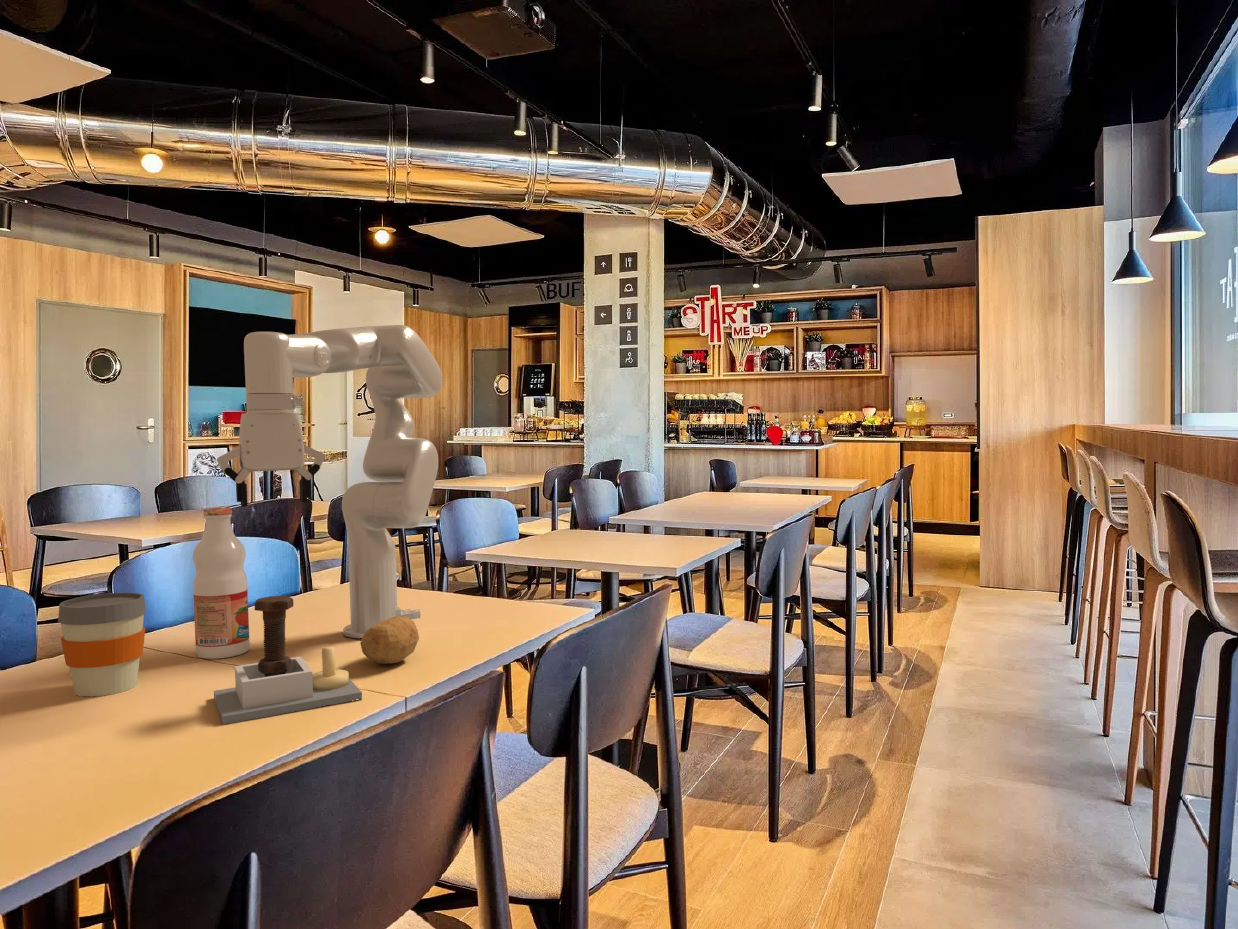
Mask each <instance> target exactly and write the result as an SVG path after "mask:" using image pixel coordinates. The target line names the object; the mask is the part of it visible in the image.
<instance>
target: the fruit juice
mask: <svg viewBox="0 0 1238 929" xmlns="http://www.w3.org/2000/svg"><path fill="white" fill-rule="evenodd" d="M202 513H203V518H204V519H205V525H204V531H203V534H202V537H201V539H200V541H199V542H198V543H197V544H196V546H195V547H194V550H193V553H192V561H193V565H194V567H195V570H196V571H195V576H194V578H193V583H192V584H193V586H192V588H193V589H192V590H193V591H192V592H193V609H194V610H193V612H194V613H193V614H194V615H193V616H194V617H193V618H194V637H195V639H194V641H195V642H194V643H195V653H196V656H197V657H198V658H199V659H204V660H205V659H207V660H216V659H217V660H218V659H219V660H220V659H226V658H232V657H236V656H240V655H242V654H245V653H247V652H248V651H249V649H250V644H251V642H250V624H249V622H250V621H249V620H250V618H249V596H248V594H249V593H248V591H249V590H248V589H249V586H248V578H247V574H246V572H245V570H244V563H245V560H246V549H245V546H244V544H242V542H241V541H240V540H239V539H238V538H237V536H236V535H235V532H234V530H233V526H232V524H231V517H232V516H233V515H232V514H233V510H232V508H231V507H213V508H212V507H211V508H210V507H209V508H205V509H203V512H202Z"/></svg>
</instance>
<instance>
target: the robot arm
mask: <svg viewBox="0 0 1238 929" xmlns="http://www.w3.org/2000/svg"><path fill="white" fill-rule="evenodd" d="M243 353H244V354H243V355H244V376H245V377H244V378H245V399H246V401H245V402H246V413H245V412H244V413H241V416H240V422H239V423H240V424H239V436H238V437H239V439H238V440H239V441H238V447H236V448H233V449H232V450H230V451H228V452H226V453H223V454H222V455H220V456H218V457H217V458H216V462H217V463H218V465H219V467H220V468H221V470H222V471H223V473H224V474H225V475H226V476H227V477H229V478H230V479H231V480H232V481H233V482H235V489H236V490H235V491H236V492H235V495H236V496H235V497H236V502H237V503H240V506H241V507H242V508H246V507H248V487H247V486H248V484H247V483H245V482H246V481H245V480H246V479H247V477H248V476H249V475H250V474H251V472H272V471H273V472H276V471H278V472H279V471H293V470H295V472H296V473H297V474H298V475H299V476H300V479H299V480H298V484H299V485H298V486H299V502H301V503H303V504H307V503H308V499H310V498H311V480H312V478H313V477H314V476H315V475H316V474H317V473H318V472H319V471H320V469H321V466H322V465H323V464H324V461H325V459H326V454H325V453H323V452H321V451H318V450H317V449H315V448H312V447H310V446H308V445H306V444H304V435H303V430H302V429H303V428H302V425H301V424H302V422H301V420H300V415H299V413H298V412H295V410H296V408H297V407H300V406H301V407H302V406H303V402H304V401H303V398H301V397H300V398H298V397H296V396H295V394H294V379H293V378H295V379H296V378H314V377H317V376H321V375H322V374H336V373H337V374H338V373H347V372H351V371H357V370H363V369H367V370H366V374H365V385H366V389H367V391H368V393H369V394H368V395H369V396H370V399H371V403H372V407H373V410H374V416H375V417H374V418H375V419H374V424H373V429H372V432H371V434H370V436H369V437H370V438H369V440H368V443H367V447H366V450H365V454H364V457H363V463H362V470H363V473H364V475H365V476H366V478H368V479H369V480H372V481H363V482H358V483H355V484H353V485H351V486H349V487H348V488H347V489H346V490H345V492H344V494H343V495H342V500H341V510H342V515H343V519H344V523H345V529H346V534H347V535H346V536H347V543H348V544H347V548H348V576H349V579H348V582H349V606H350V607H349V608H350V611H349V612H350V614H349V615H350V624H347V625H345V626H344V627H343V631H342V633H343V635H344V636H345V637H347V638H352V639H360V638H362V637H363V635H364V633H365V632H366V631H367V630H368V629H369V628H371V627H372V626H374V625H375V624H377V623H378V622H381V621H383V620H386V619H389V618H391V617H395V616H405V617H409V618H410V619H411V620H415V619H416V620H417V619H421V611H420V609H410V608H409V609H401V608H400V607H399V606H398V586H397V585H398V584H397V583H398V582H397V550H396V549H397V548H396V545H395V542H394V540H393V537H392V535H391V534H390V532H389V531H388V529H413V528H416V527H418V526H420V525H421V523H422V522H423V521H424V519H425V517H426V515H427V512H428V510H429V509H428V508H429V504H430V502H431V498H432V494H433V490H434V485H435V483H436V479H437V477H438V476H437V474H438V470H439V454H438V451H437V448H436V446H435V445H434V443H433V442H431V440H428V439H426V438H423V437H413V436H414V435H413V434H414V431H415V421H414V418H413V416H412V415H411V413H410V412H409V410H408V409H407V407H406V406H405V405H404V403H403V401H402V400H401V399H427V398H428V399H429V398H433V397H435V396H436V395H437V394H439V393H440V392H441V390H442V388H443V387H442V386H443V379H444V378H443V373H442V369H441V367H440V365H439V364H438V362H437V359H435V357H434V355H433V354H432V353H431V351H430V350H429V348H428V347H427V345H426V344H425V342H424V341H423V339H422V338H421V337H420V336H419V335H418V333H417V332H416V331H415V330H414V329H412V328H411V327H410V326H408V325H404V324H394V325H393V324H392V325H391V324H389V325H388V324H387V325H369V326H367V325H366V326H355V327H346V328H332V329H324V330H322V329H321V330H317V331H309V332H304V333H295V334H286V333H283V332H278V331H277V332H275V331H254V332H249V333H247V335H245V336H244V340H243ZM305 454H306V455H307V456H311V457H313V459H314V461H313V463H312V464H311V466H309V467H308V468H306V467H305V461H306V460H305V459H306V457H305ZM237 457H238V462H239V466H240V469H239V471H238V472H236V471H235V470H233V469H232V467H231V466H230V464H229V462H230V461H231V460H234V459H235V458H237Z"/></svg>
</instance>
